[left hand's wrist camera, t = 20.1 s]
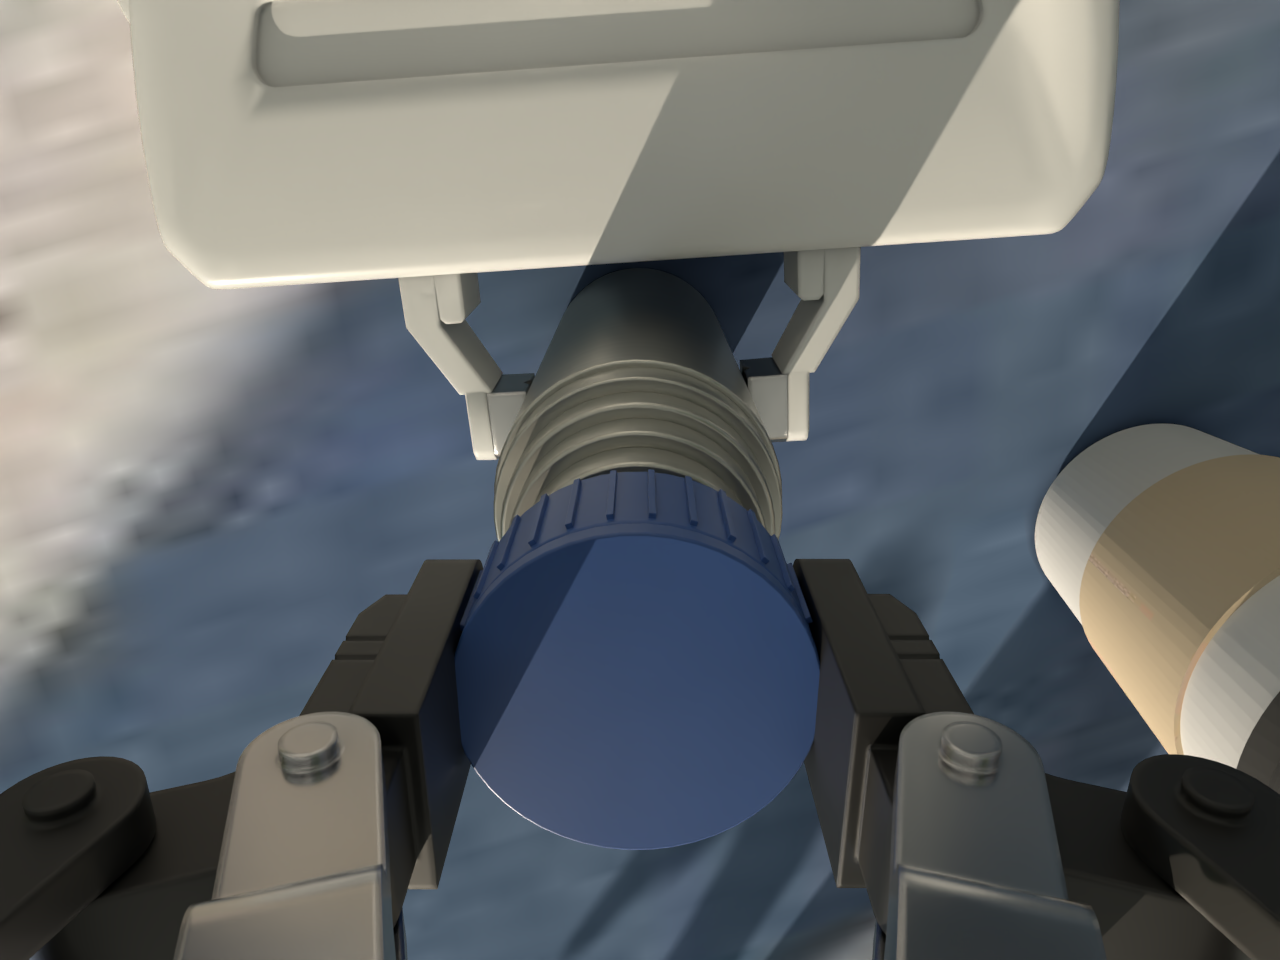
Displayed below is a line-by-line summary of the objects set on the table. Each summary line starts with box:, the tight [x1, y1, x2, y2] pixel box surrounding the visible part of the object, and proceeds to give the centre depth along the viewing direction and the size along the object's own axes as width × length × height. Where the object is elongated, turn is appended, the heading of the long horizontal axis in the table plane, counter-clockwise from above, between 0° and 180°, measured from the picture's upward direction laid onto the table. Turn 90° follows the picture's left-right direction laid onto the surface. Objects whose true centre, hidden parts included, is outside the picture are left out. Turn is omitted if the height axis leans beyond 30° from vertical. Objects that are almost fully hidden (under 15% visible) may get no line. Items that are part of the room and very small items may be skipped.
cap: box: [454, 469, 820, 850], centre depth 11 cm, size 4×4×2 cm
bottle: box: [494, 268, 782, 542], centre depth 19 cm, size 5×5×18 cm
